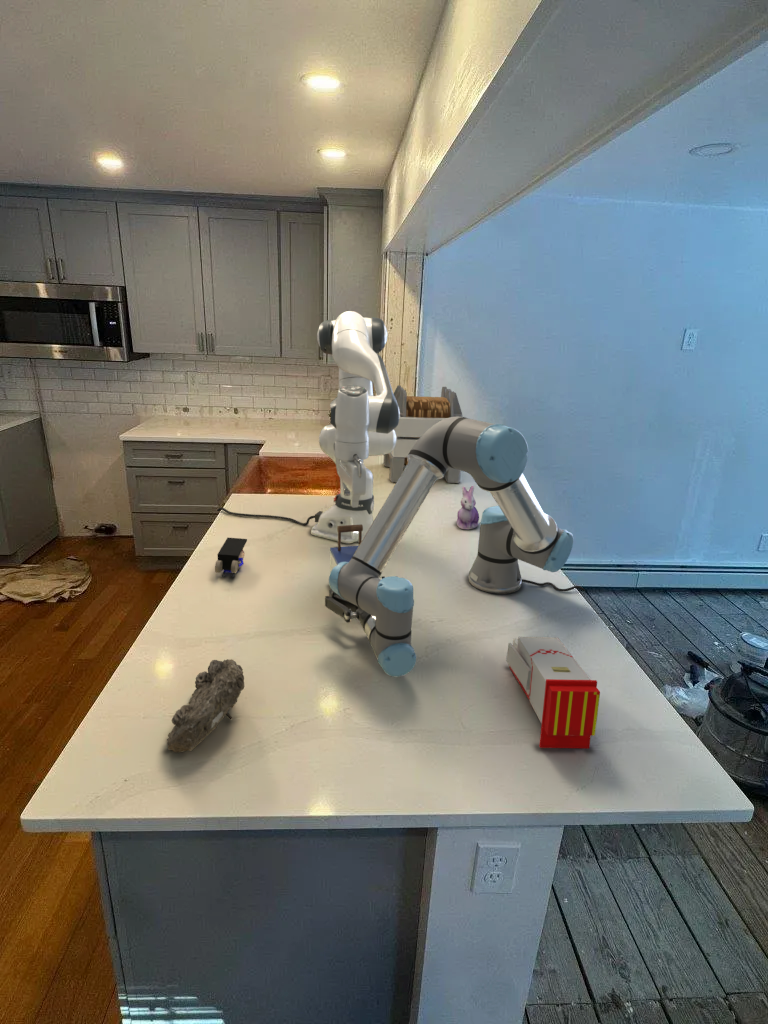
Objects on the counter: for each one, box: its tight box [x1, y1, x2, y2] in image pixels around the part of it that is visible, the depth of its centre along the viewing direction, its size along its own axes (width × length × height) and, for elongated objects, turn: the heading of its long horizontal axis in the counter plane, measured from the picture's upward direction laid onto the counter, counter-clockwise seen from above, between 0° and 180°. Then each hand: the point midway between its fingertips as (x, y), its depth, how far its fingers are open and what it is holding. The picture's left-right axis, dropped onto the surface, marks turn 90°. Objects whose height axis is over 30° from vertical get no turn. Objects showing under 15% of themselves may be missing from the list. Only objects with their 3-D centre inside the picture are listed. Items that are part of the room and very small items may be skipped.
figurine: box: [456, 485, 480, 530], centre depth 208 cm, size 9×10×15 cm
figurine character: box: [214, 537, 248, 578], centre depth 166 cm, size 7×8×15 cm
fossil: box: [166, 658, 245, 754], centre depth 106 cm, size 22×10×15 cm
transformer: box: [383, 384, 463, 484], centre depth 268 cm, size 34×33×41 cm
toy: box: [505, 636, 601, 749], centre depth 115 cm, size 12×13×30 cm
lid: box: [329, 524, 363, 565], centre depth 151 cm, size 15×10×8 cm, turn 16°
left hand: (350, 500), depth 151 cm, fingers open, 8 cm apart
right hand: (357, 583), depth 148 cm, fingers open, 13 cm apart
